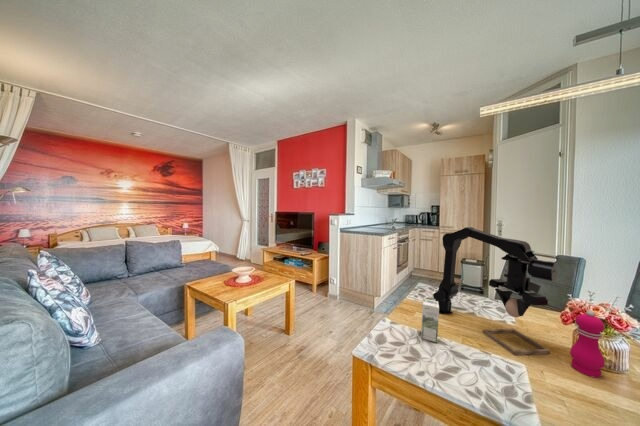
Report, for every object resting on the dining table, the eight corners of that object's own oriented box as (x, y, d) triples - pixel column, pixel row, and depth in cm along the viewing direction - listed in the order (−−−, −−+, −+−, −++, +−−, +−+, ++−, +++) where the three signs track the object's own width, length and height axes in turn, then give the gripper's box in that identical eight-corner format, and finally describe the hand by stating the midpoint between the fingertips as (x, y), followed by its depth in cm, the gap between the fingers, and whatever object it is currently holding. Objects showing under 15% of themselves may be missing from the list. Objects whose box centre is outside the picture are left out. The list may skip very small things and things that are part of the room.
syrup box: (436, 335, 90) (438, 300, 89) (437, 343, 85) (439, 306, 84) (421, 331, 93) (422, 297, 92) (421, 339, 87) (422, 303, 87)
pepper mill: (591, 365, 75) (596, 307, 74) (610, 381, 68) (616, 318, 67) (563, 360, 77) (567, 304, 76) (579, 375, 70) (584, 314, 69)
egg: (504, 316, 87) (505, 298, 86) (505, 311, 91) (506, 294, 90) (522, 322, 83) (524, 303, 83) (522, 316, 87) (524, 298, 87)
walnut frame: (514, 355, 79) (515, 352, 79) (482, 332, 93) (482, 329, 93) (550, 353, 80) (550, 350, 80) (513, 331, 94) (513, 328, 94)
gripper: (563, 281, 77) (559, 325, 78) (512, 266, 96) (510, 301, 97) (534, 282, 76) (531, 325, 77) (489, 266, 95) (486, 301, 96)
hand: (513, 312), depth 87 cm, fingers closed on egg, 5 cm apart
